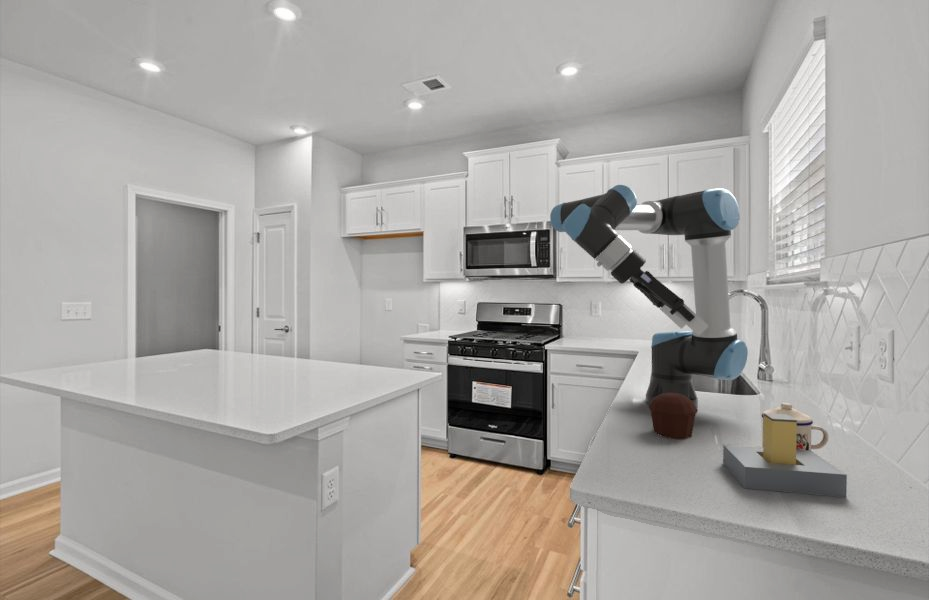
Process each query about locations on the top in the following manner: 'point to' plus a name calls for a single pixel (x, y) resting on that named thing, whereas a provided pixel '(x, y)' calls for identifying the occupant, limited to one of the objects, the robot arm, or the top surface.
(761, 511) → the top surface
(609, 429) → the top surface
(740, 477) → the socket plate
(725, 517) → the top surface
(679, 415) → the muffin
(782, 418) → the plug
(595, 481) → the top surface
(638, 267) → the robot arm
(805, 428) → the teacup with lid
